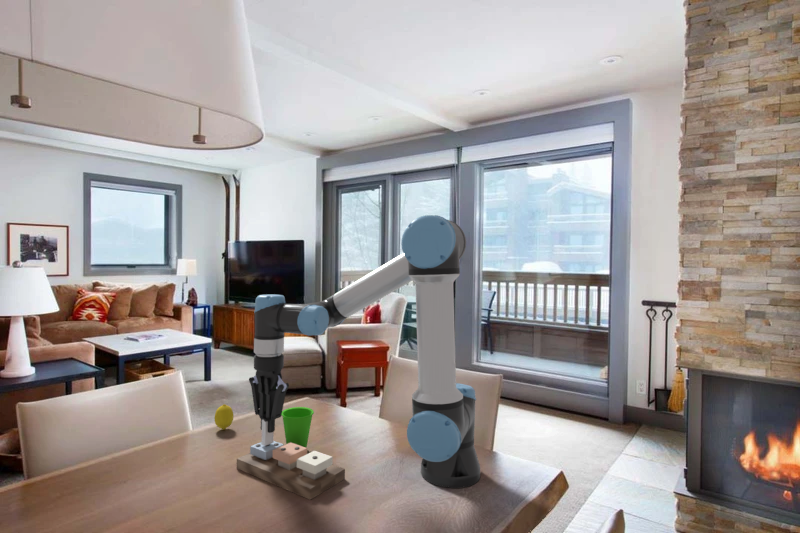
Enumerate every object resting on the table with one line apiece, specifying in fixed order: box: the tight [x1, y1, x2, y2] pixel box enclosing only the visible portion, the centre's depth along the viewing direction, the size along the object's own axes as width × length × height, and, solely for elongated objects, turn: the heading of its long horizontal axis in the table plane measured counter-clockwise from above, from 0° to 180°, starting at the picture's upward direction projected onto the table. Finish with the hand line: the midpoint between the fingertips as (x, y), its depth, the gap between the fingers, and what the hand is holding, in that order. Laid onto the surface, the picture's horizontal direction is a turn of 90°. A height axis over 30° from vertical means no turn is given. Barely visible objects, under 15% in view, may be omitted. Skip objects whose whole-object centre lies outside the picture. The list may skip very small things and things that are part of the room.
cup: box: [281, 406, 315, 449], centre depth 128 cm, size 9×9×11 cm
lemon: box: [214, 403, 234, 431], centre depth 142 cm, size 6×6×8 cm
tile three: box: [249, 440, 285, 461], centre depth 119 cm, size 6×6×5 cm
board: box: [236, 452, 346, 501], centre depth 115 cm, size 26×12×2 cm, turn 57°
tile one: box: [297, 450, 334, 480], centre depth 110 cm, size 6×6×5 cm
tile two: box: [273, 442, 308, 470], centre depth 115 cm, size 6×6×5 cm
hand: (267, 443), depth 119 cm, fingers closed
